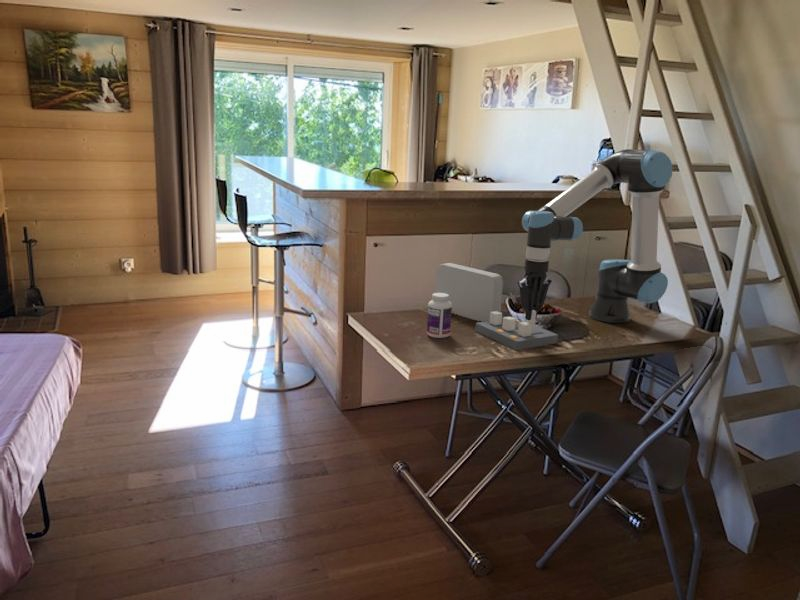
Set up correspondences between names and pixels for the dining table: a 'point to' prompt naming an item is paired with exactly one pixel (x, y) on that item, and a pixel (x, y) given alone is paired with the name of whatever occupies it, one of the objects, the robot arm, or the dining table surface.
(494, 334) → the switch board
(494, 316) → the switch
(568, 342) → the dining table surface
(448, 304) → the pill bottle
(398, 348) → the dining table surface
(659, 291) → the robot arm
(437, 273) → the rounded white slab
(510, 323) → the switch middle
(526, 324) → the switch
